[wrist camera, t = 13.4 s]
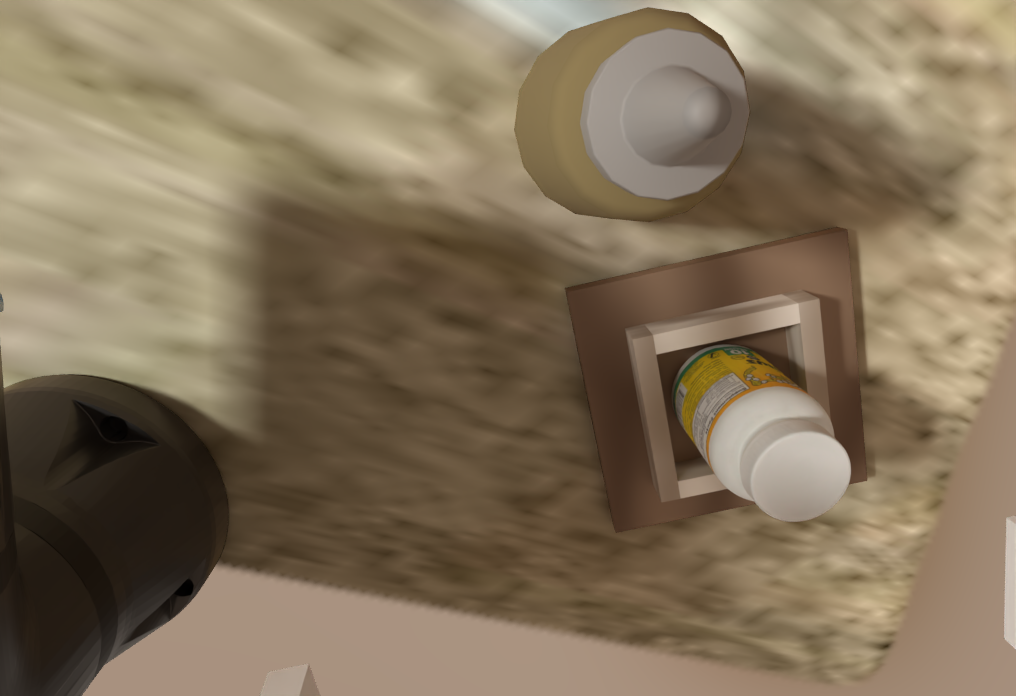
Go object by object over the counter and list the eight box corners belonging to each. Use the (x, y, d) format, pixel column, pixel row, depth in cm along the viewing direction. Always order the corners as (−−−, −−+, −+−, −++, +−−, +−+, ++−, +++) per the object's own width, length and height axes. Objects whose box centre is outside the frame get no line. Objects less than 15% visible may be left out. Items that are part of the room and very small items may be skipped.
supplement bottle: (648, 394, 36) (704, 483, 27) (723, 319, 35) (808, 386, 26) (717, 455, 37) (793, 561, 28) (792, 385, 36) (896, 471, 27)
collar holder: (612, 523, 40) (622, 553, 37) (565, 288, 36) (571, 301, 33) (857, 472, 39) (887, 499, 36) (837, 226, 35) (868, 235, 32)
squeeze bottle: (705, 164, 34) (923, 193, 17) (555, 238, 35) (617, 338, 18) (640, 0, 32) (815, -160, 15) (482, 83, 33) (471, 25, 15)
